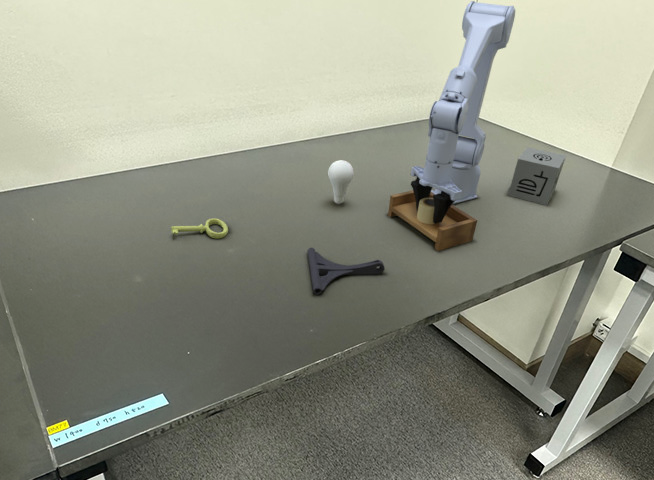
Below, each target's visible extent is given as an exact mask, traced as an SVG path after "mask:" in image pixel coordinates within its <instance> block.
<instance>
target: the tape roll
mask: <svg viewBox="0 0 654 480" xmlns="http://www.w3.org/2000/svg"><path fill="white" fill-rule="evenodd" d="M433 215H434V199H433V198H423V199H421V200H420V201H419V207H418V213H417V219H418V220H419V221H420V222H422V223H425V224H435V223H433ZM436 224H437V223H436Z"/></svg>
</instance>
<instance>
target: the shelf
mask: <svg viewBox="0 0 654 480" xmlns="http://www.w3.org/2000/svg"><path fill="white" fill-rule="evenodd" d="M433 195H435V194H434V193H432V192H430V195H429V198H433ZM417 213H418V212H417V210H416V200H415V195H414V191H413V189H412V190H407V191H403V192H400V193H394V194H391V195H390V196H389V205H388V211H387V216H388V217H390V218H393V217H397V216H398V217H399V218H401V219H402V220H403V221H405V222H406V223H408V224H409V225H411V226H412V227H413V228H414V229H416V230H418V231H419V232H420V233H422V234H423V235H425V236H426V237H427V238H429V239H430V240H432V241H433V242H434V243H435V244H434V250H436V252H440V251H443V250H446V249H450V248H453V247H457V246H460V245H463V244H467V243H470V242H473V241H474V237H475V233H476V229H477V224H478V219H477V218H475V217H474V216H471V215H470V214H468V213H466V212H465V211H463V210H462V209H460V208H458V207H457V206H455V205H454V204H452V205H451V206H450V208H449V209H448V211H447V213H446V214H445V216H444V218H443V220H442V222H440V223H437V224H425V223H422V222H420V221H419V220H418V219H417Z"/></svg>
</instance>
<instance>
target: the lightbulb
mask: <svg viewBox="0 0 654 480" xmlns="http://www.w3.org/2000/svg"><path fill="white" fill-rule="evenodd" d="M327 174H328V177H327V178H328V179H329V182H330V184H331V187H332V193H333V202H334V203H335V204H337V205H340V204H343V203H344V202H345V197H346V196H345V195H346V194H347V189H348V187H349V185H350V184H351V182H352V180H353V179H354V174H355V171H354V168H353V166H352V164H351V163H350V162H348V161H346V160H345V159H344V160H343V159H342V160H341V159H338V160H336V161H333V162H332V163H331V165H330V166H329V167H328V170H327Z"/></svg>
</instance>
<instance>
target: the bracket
mask: <svg viewBox="0 0 654 480" xmlns="http://www.w3.org/2000/svg"><path fill="white" fill-rule="evenodd" d="M307 258H308V265H309V271H310V277H311V278H310V280H311V285H312V292H313V294H314V295H316V296H320V295H321V294H322V292H325V289H326V287H328V285H329V284H330V283H331V282H332V281H334V280H335V279H337V278H338V277H341V276H344V275H345V276H350V275H353V276H354V275H355V276H356V275H357V276H358V275H359V276H361V275H380V274H382V273H384V271H385V265H384V262H383V261H382V260H380V259H375V260H372V261H371V260H370V261H368V262H363V263H358V264H348V265H347V264H343V263H342V264H341V263H337V262H334V261H332V260H329V259H327V258H325V257H324V256H322V255H321V254H320V252H318V251H316V249H315V247H309V248H308V249H307Z"/></svg>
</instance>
